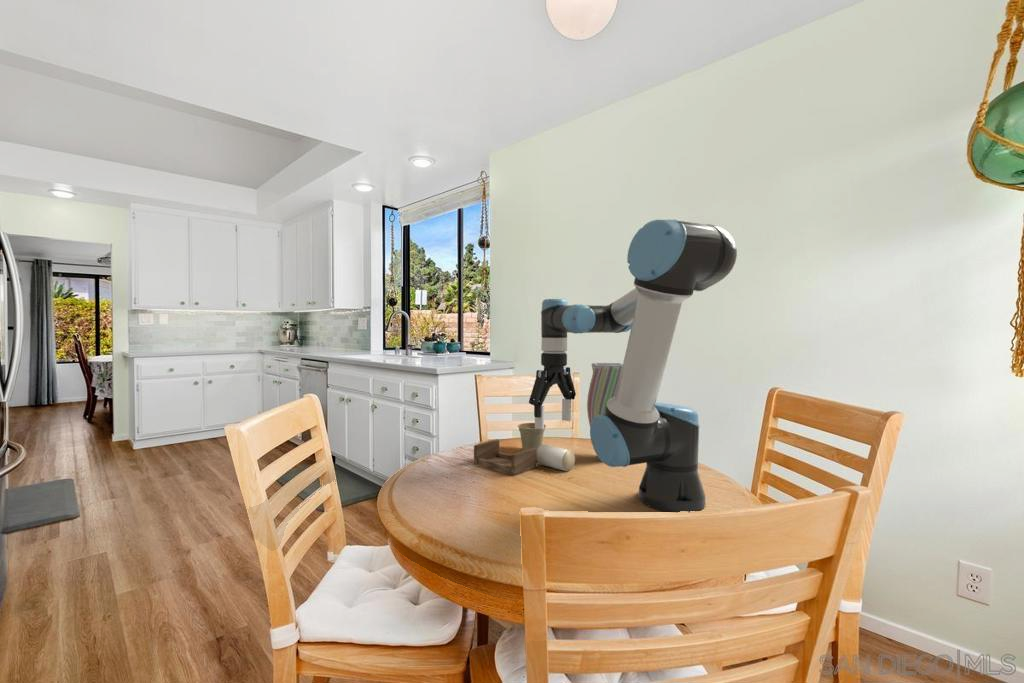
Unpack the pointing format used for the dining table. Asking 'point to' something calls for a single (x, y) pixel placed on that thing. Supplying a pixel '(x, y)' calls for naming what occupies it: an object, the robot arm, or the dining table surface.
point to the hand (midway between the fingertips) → (553, 424)
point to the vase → (602, 387)
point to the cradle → (504, 458)
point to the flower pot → (530, 435)
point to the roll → (555, 457)
